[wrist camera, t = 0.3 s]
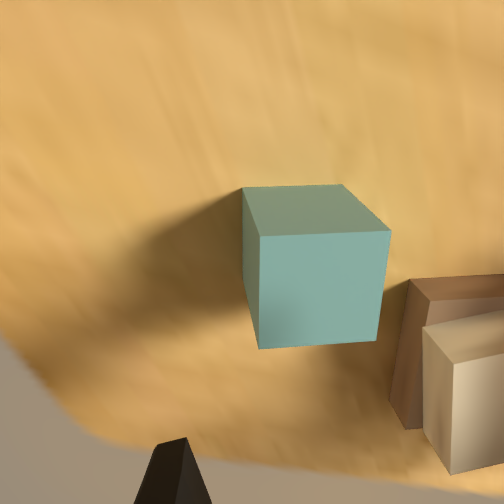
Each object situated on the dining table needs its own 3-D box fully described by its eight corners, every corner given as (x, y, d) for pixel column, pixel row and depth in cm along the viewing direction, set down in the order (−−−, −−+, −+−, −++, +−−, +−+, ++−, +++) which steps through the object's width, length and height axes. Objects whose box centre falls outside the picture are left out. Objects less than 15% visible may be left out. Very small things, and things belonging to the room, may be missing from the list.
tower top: (557, 297, 20) (605, 330, 17) (542, 403, 22) (583, 444, 20) (422, 327, 19) (453, 364, 17) (422, 430, 22) (450, 475, 20)
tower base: (544, 266, 22) (585, 291, 20) (509, 382, 25) (541, 416, 23) (404, 273, 21) (430, 301, 19) (384, 393, 24) (405, 429, 22)
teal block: (341, 184, 18) (391, 230, 14) (333, 273, 20) (376, 340, 16) (241, 187, 18) (259, 236, 13) (242, 278, 20) (258, 349, 15)
